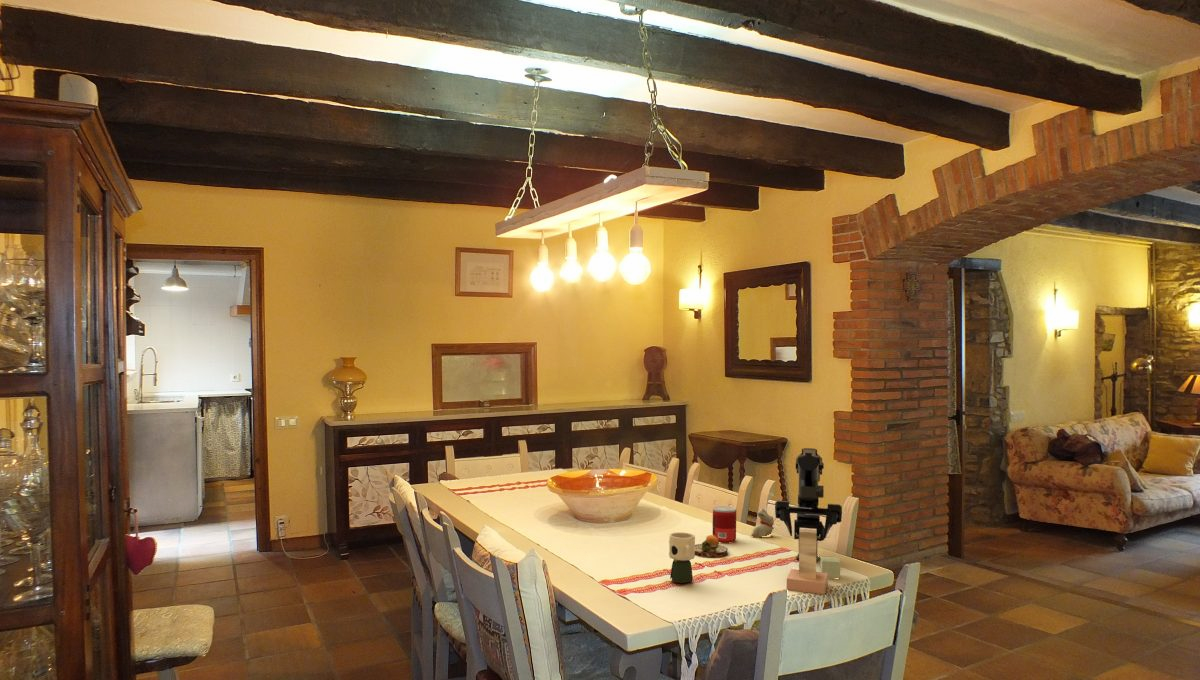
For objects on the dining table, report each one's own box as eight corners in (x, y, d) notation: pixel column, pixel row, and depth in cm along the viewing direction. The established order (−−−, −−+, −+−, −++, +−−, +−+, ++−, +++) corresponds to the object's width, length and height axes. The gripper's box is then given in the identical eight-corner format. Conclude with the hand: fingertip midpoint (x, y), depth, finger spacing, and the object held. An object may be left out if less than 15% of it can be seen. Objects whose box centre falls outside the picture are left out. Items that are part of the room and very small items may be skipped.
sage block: (820, 573, 222) (820, 556, 222) (838, 574, 221) (838, 557, 221) (821, 578, 217) (822, 561, 217) (840, 579, 216) (840, 562, 216)
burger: (716, 547, 251) (716, 525, 251) (735, 556, 240) (735, 533, 240) (684, 550, 247) (684, 527, 247) (701, 560, 235) (701, 535, 236)
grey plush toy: (774, 538, 263) (774, 509, 264) (751, 537, 265) (751, 508, 265) (773, 535, 269) (773, 506, 269) (750, 533, 270) (751, 505, 270)
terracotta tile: (791, 579, 215) (791, 568, 215) (827, 583, 212) (827, 573, 212) (786, 589, 206) (786, 578, 206) (824, 594, 202) (824, 583, 202)
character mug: (663, 576, 216) (663, 531, 216) (686, 575, 218) (687, 530, 218) (675, 588, 205) (676, 540, 206) (700, 587, 207) (701, 539, 207)
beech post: (799, 572, 212) (799, 527, 212) (815, 574, 210) (816, 528, 211) (798, 577, 207) (799, 531, 208) (816, 578, 206) (816, 532, 206)
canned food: (740, 542, 257) (740, 509, 258) (719, 544, 255) (720, 511, 255) (728, 537, 265) (728, 505, 265) (708, 538, 262) (708, 506, 262)
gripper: (775, 473, 224) (773, 518, 213) (841, 476, 219) (843, 523, 208) (776, 495, 232) (774, 540, 221) (840, 498, 227) (841, 545, 216)
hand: (807, 536), depth 216 cm, fingers open, 9 cm apart
